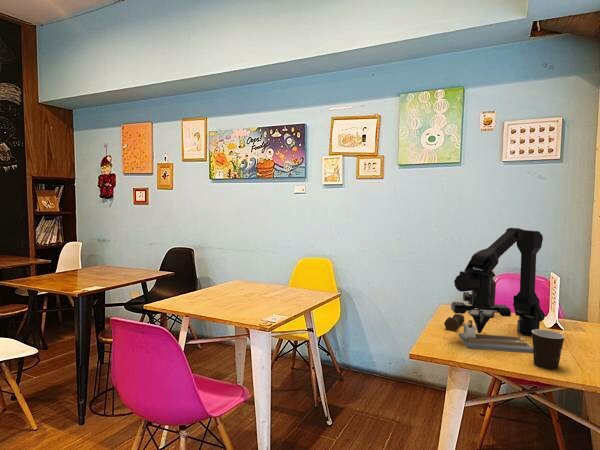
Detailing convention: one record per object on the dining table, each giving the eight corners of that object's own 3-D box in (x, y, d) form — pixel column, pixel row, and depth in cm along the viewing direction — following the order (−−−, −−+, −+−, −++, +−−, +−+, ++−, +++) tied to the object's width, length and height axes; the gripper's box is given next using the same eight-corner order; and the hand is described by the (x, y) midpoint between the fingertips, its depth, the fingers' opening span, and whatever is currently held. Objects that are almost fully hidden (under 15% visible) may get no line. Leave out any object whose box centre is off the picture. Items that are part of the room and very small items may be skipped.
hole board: (519, 340, 149) (520, 334, 148) (534, 353, 136) (535, 346, 136) (458, 335, 152) (459, 329, 152) (467, 348, 139) (468, 341, 139)
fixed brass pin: (523, 341, 143) (523, 337, 143) (525, 343, 141) (525, 339, 141) (517, 341, 143) (518, 337, 143) (519, 343, 142) (520, 338, 141)
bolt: (462, 326, 169) (452, 335, 157) (451, 318, 171) (441, 326, 159) (470, 316, 167) (461, 323, 155) (459, 308, 170) (449, 314, 157)
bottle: (497, 317, 177) (500, 272, 176) (483, 317, 176) (486, 272, 175) (487, 313, 184) (489, 269, 183) (474, 313, 183) (476, 269, 181)
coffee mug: (553, 373, 120) (555, 340, 119) (524, 363, 127) (525, 331, 126) (572, 365, 126) (574, 334, 125) (543, 356, 133) (545, 326, 132)
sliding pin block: (472, 336, 147) (473, 319, 146) (475, 340, 143) (476, 322, 142) (463, 336, 147) (464, 318, 147) (466, 339, 143) (467, 322, 143)
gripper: (501, 286, 150) (499, 327, 151) (448, 283, 152) (446, 324, 153) (512, 293, 139) (510, 337, 140) (455, 289, 141) (453, 333, 142)
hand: (479, 332), depth 144 cm, fingers closed
